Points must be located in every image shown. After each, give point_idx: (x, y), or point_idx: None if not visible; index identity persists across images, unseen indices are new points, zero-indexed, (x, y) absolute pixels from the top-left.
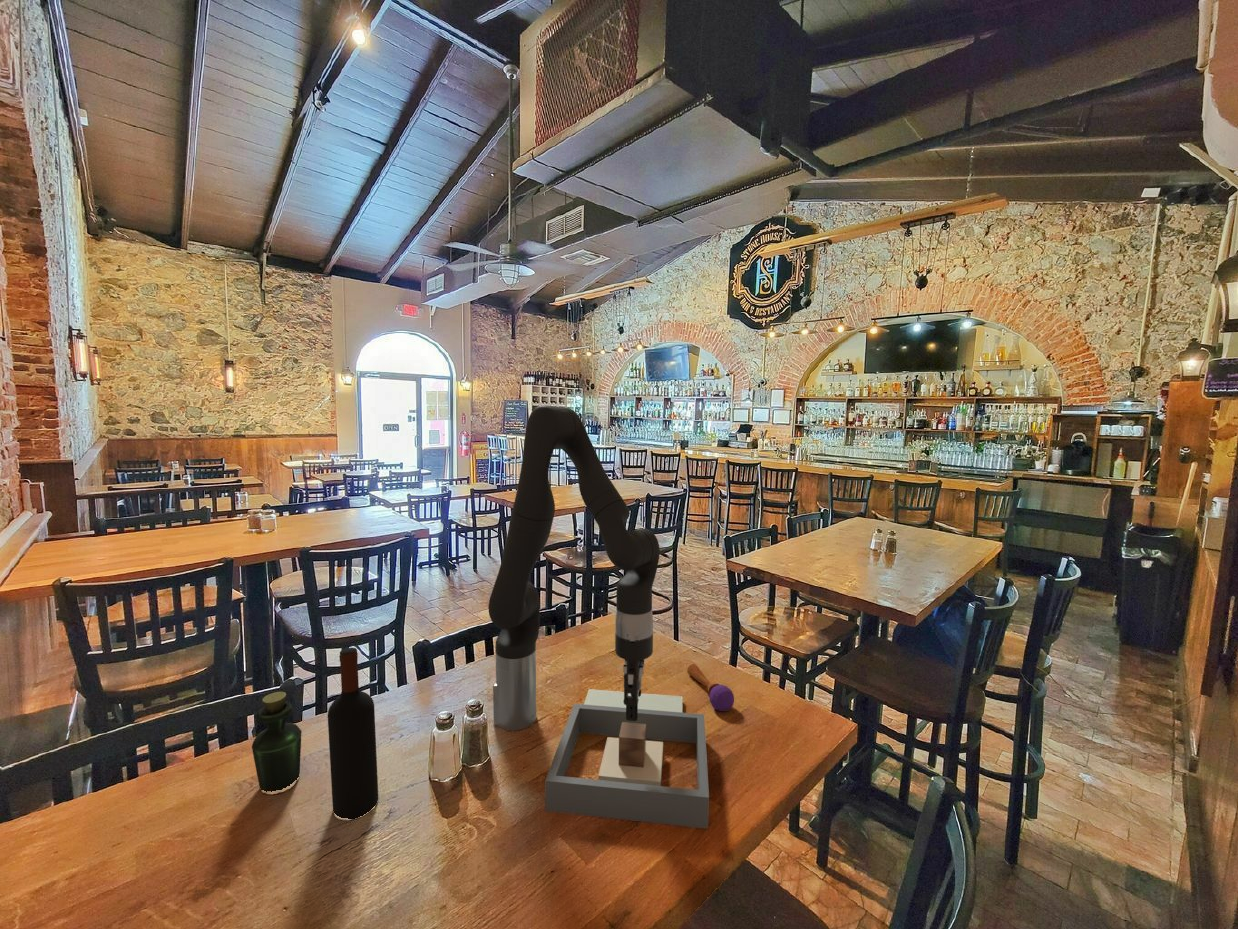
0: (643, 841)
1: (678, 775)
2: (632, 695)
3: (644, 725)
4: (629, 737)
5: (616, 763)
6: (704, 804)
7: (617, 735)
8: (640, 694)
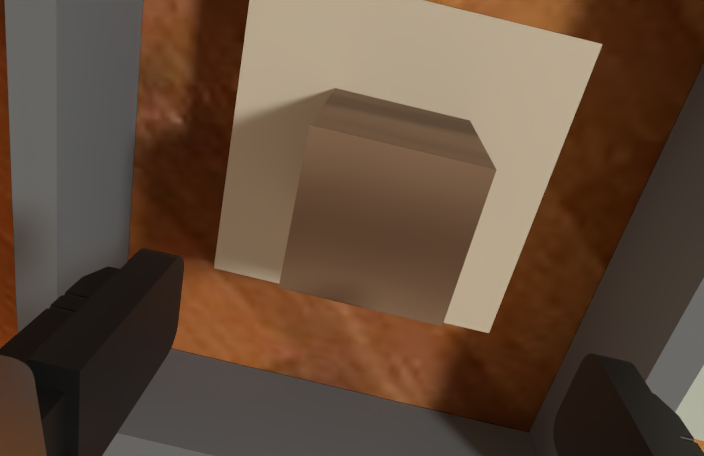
0: (8, 138)
1: (348, 327)
2: (584, 367)
3: (427, 315)
4: (301, 199)
5: (351, 77)
6: None
7: (684, 107)
8: (558, 445)
